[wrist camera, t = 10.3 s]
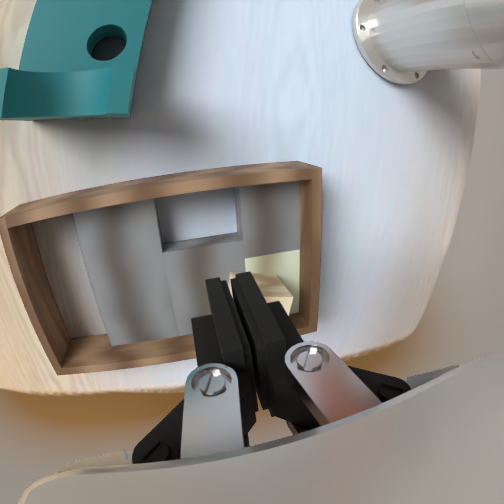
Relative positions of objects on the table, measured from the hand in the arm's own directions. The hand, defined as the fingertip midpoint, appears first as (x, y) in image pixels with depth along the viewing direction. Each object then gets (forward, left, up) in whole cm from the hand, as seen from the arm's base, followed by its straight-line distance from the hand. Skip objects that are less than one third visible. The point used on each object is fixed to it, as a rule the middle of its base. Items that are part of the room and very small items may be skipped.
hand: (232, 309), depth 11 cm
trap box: (+3, +7, -21) cm, 22 cm away
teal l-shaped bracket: (+8, -18, -22) cm, 29 cm away
